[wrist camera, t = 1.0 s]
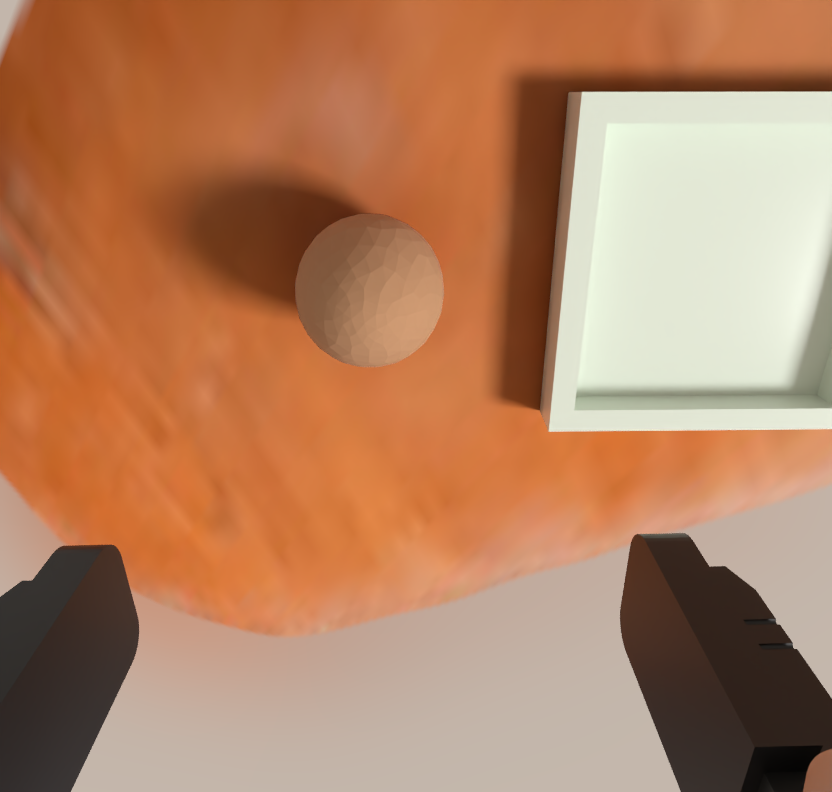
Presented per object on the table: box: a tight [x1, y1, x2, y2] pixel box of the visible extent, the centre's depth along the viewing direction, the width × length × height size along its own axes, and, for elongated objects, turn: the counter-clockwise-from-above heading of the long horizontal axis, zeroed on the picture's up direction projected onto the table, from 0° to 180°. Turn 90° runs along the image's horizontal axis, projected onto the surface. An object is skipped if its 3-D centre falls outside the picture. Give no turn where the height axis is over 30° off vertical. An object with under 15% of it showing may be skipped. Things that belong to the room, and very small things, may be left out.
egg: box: [295, 214, 444, 367], centre depth 23 cm, size 5×5×7 cm
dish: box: [540, 92, 832, 432], centre depth 26 cm, size 13×13×2 cm
